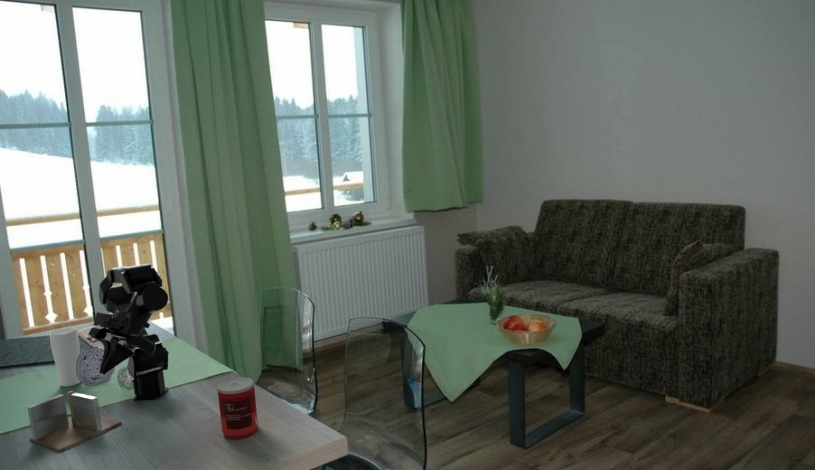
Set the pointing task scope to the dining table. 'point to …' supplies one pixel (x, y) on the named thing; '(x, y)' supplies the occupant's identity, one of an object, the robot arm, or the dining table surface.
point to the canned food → (237, 407)
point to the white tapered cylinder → (65, 354)
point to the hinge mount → (61, 424)
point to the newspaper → (90, 338)
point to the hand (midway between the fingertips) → (101, 373)
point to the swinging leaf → (86, 411)
